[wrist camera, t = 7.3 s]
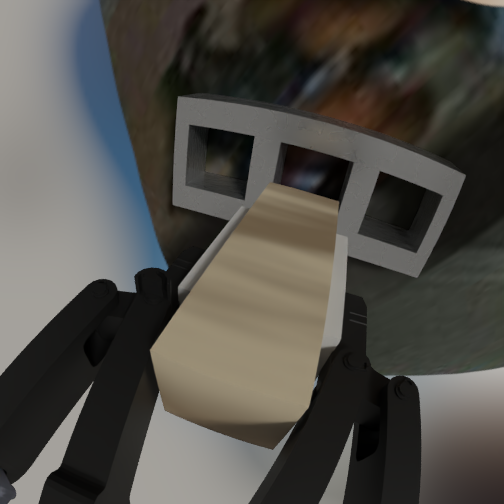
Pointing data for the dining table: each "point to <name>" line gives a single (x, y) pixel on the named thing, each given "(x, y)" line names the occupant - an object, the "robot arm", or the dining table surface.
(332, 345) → the robot arm
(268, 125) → the grey slotted block
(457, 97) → the dining table surface
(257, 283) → the peg
